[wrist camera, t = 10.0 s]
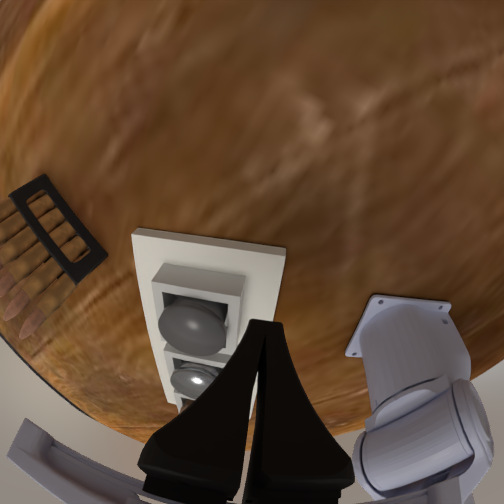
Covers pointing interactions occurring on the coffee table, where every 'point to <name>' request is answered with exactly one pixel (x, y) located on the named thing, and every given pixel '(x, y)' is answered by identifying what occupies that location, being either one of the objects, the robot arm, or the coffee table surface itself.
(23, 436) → the robot arm
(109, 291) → the coffee table surface
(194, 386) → the knob steel
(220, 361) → the mount board
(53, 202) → the ammunition clip
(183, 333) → the knob graphite
